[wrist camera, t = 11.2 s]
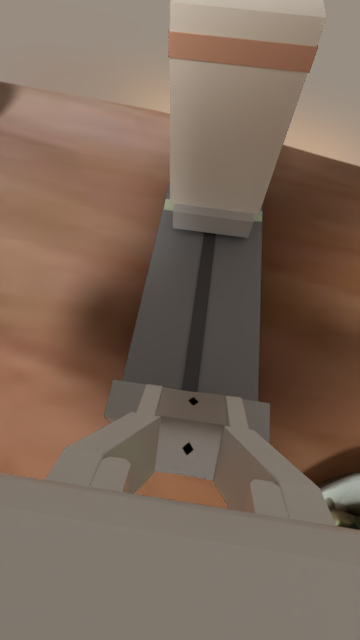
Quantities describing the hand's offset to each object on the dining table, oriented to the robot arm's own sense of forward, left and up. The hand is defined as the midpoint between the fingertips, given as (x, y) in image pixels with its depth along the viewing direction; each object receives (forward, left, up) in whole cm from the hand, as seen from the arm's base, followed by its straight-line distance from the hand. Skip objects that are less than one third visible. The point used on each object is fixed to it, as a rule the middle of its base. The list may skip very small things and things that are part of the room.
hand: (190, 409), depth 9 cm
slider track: (+9, +4, -7) cm, 12 cm away
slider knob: (+14, +6, -5) cm, 16 cm away
